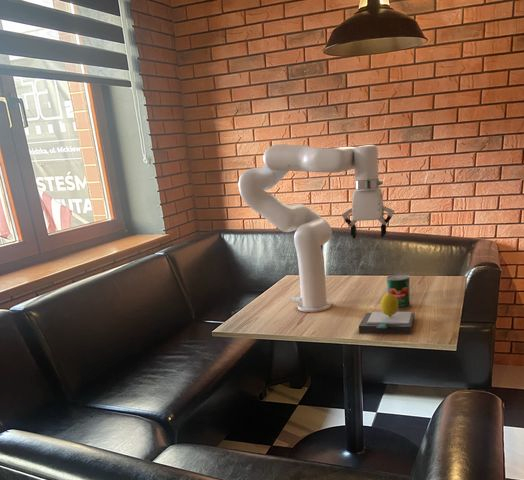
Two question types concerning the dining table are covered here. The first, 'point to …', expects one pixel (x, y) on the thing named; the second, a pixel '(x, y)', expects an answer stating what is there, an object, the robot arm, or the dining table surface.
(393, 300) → the lemon
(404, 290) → the canned tomato
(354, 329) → the dining table surface
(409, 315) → the scale
